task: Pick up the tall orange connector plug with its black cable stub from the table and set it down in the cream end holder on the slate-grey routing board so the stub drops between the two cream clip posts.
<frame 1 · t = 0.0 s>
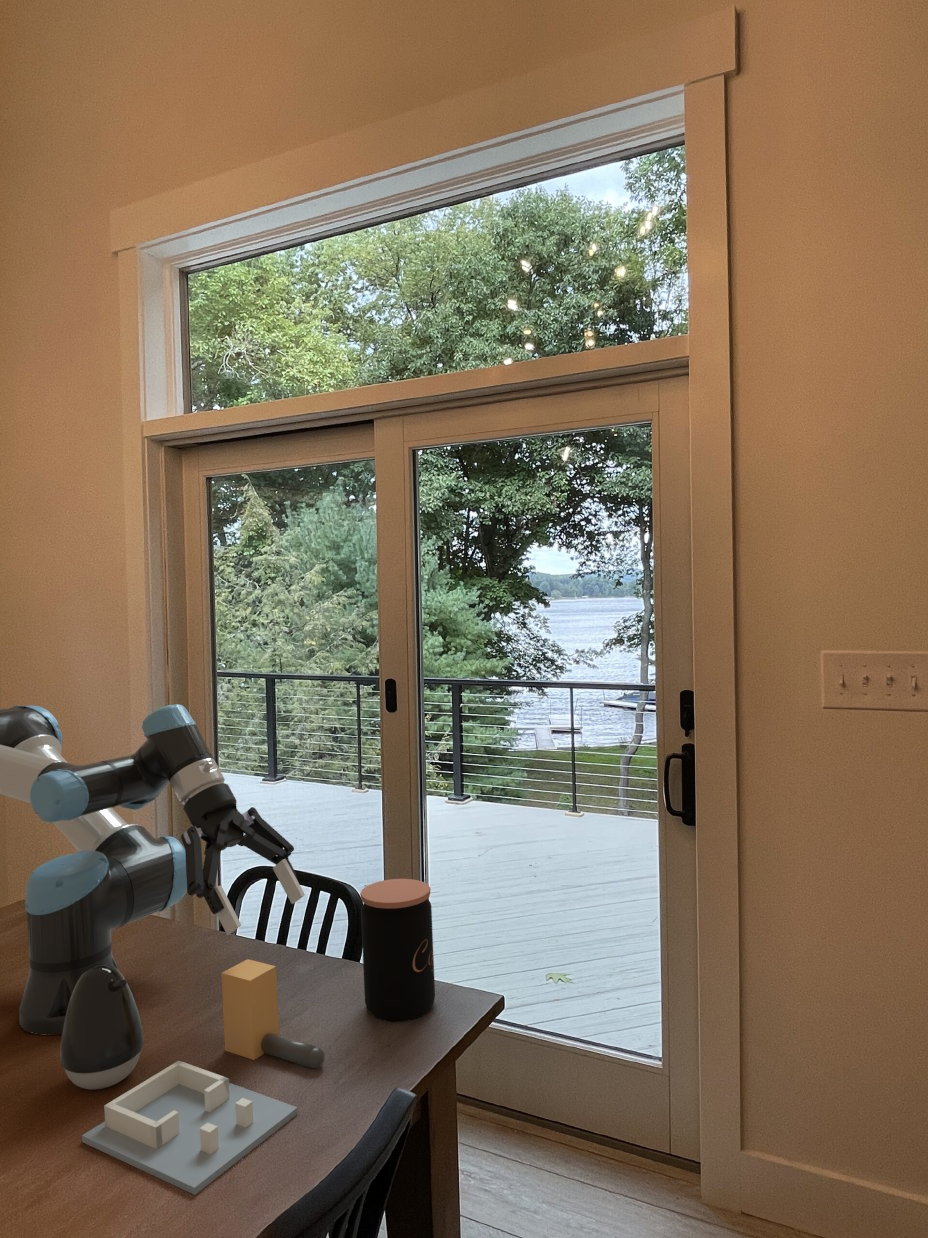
hand: (268, 914, 130), 15 cm above the table, tool tilted 35°, fingers open, 13 cm apart
dark grey egg shape: (104, 1080, 114), on the table
coffee jar: (400, 1008, 131), on the table
plug: (252, 1047, 121), on the table
routing board: (192, 1128, 103), on the table
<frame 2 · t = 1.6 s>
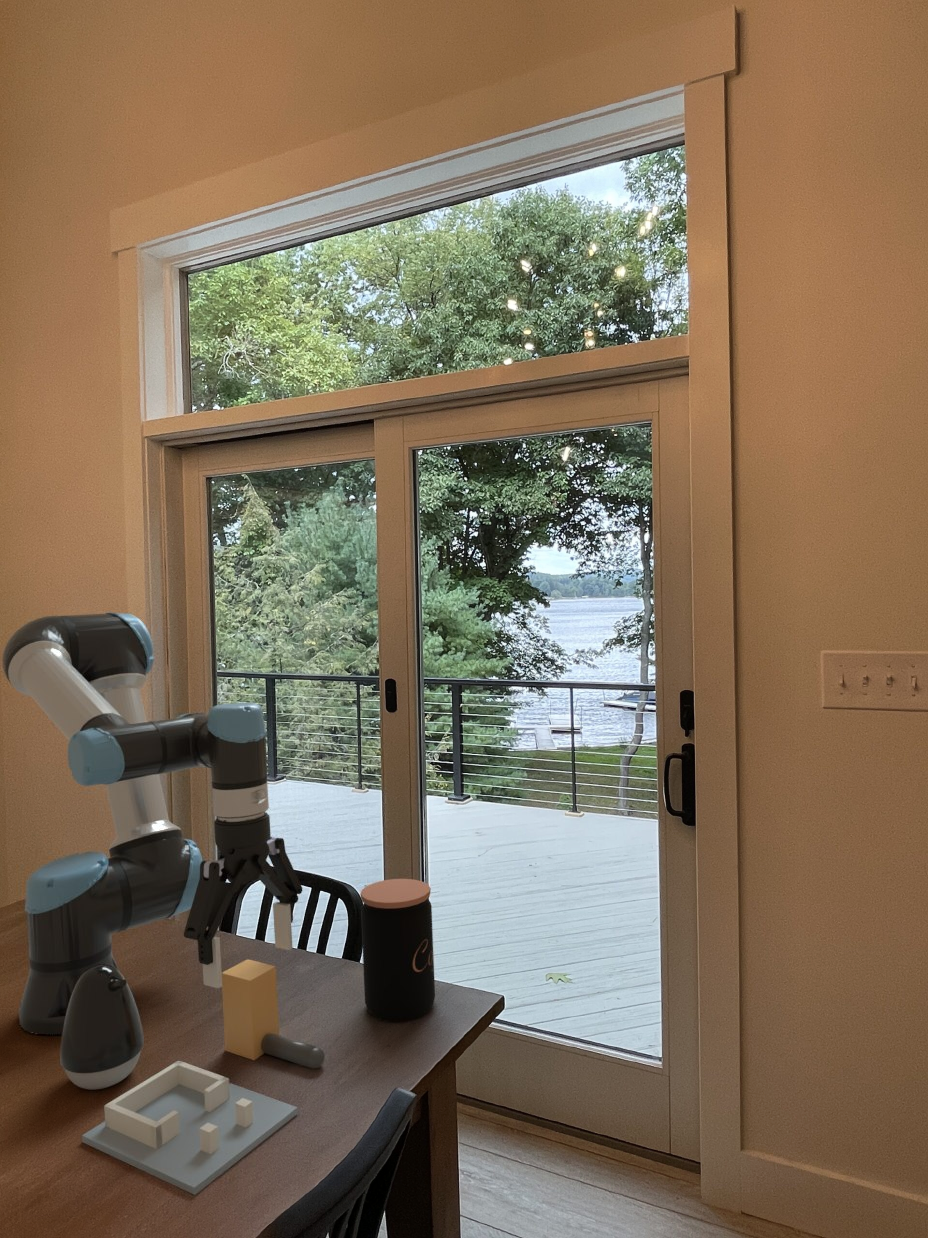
hand: (250, 966, 120), 12 cm above the table, tool pointing down, fingers open, 13 cm apart
nothing on the table moved.
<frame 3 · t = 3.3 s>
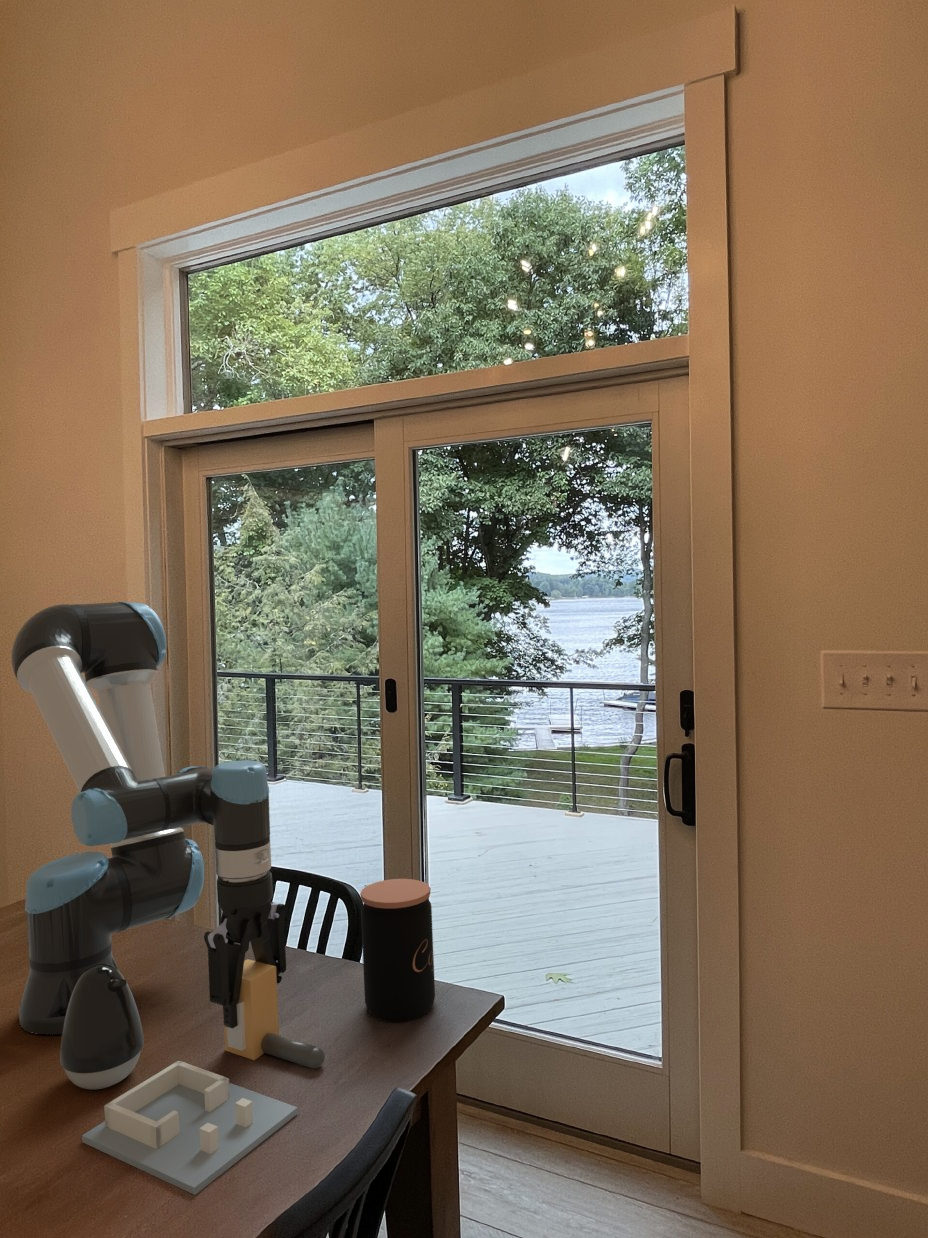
hand: (252, 1037, 121), 1 cm above the table, tool pointing down, fingers closed on plug, 5 cm apart
plug: (252, 1047, 121), on the table, touching gripper
everything else where it was.
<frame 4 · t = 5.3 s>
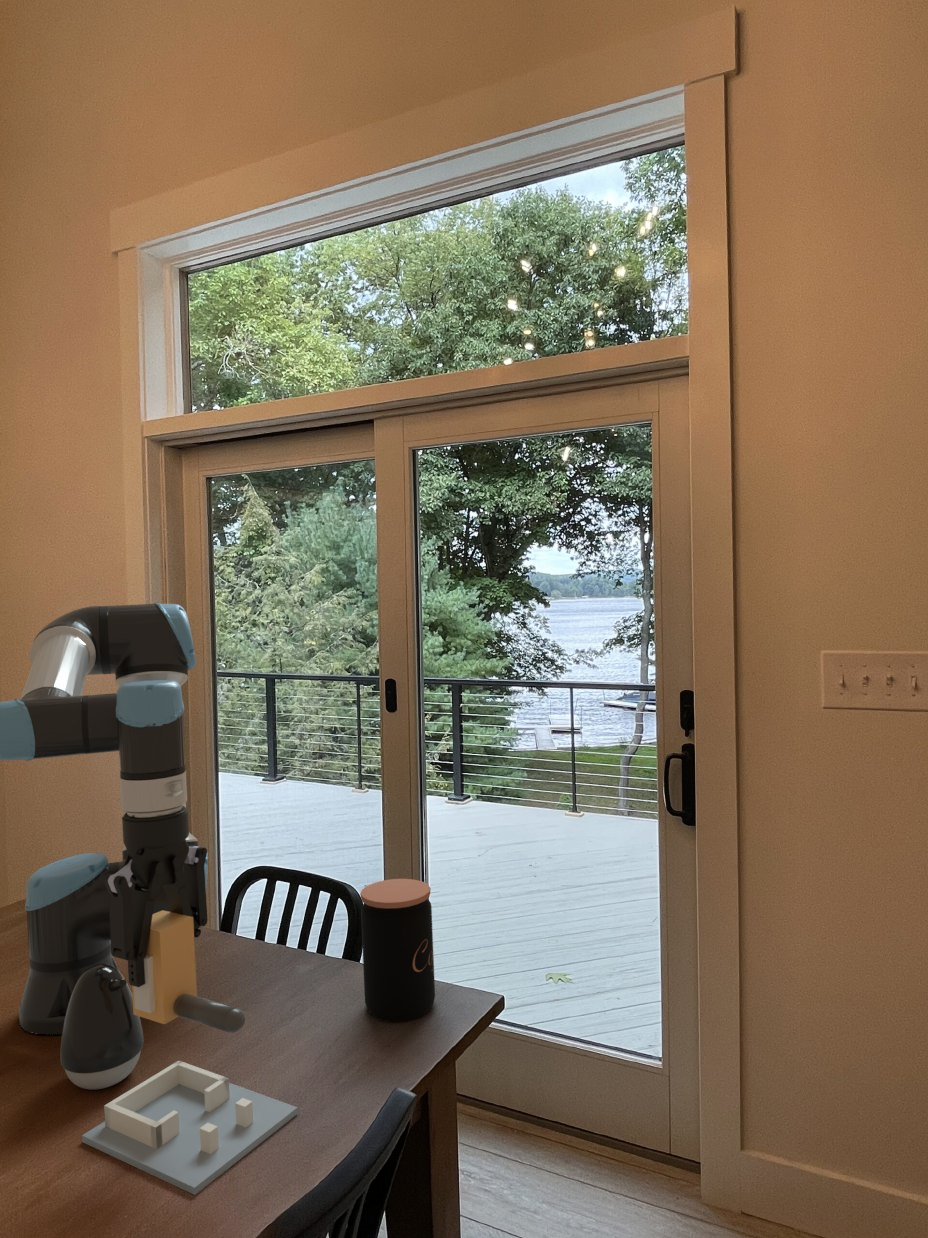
hand: (164, 999, 104), 15 cm above the table, tool pointing down, fingers closed on plug, 5 cm apart
plug: (165, 1010, 104), point 13 cm above the table, touching gripper
everything else where it was.
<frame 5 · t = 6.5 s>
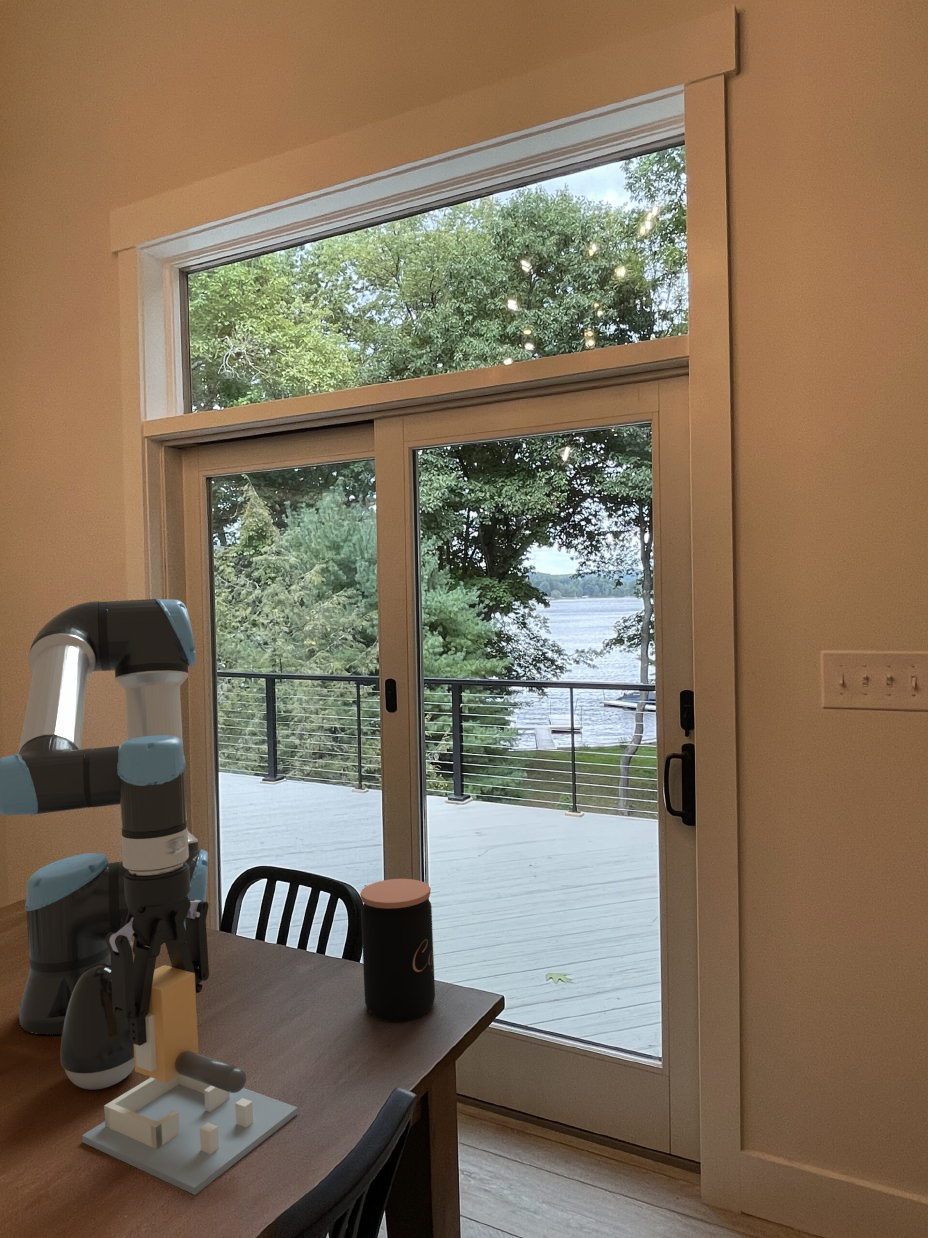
hand: (166, 1055, 104), 8 cm above the table, tool pointing down, fingers closed on plug, 5 cm apart
plug: (167, 1067, 104), point 6 cm above the table, touching gripper
everything else where it was.
when the fingers open (4 cm above the table, at t = 7.6 s): plug drops 1 cm, resting on routing board.
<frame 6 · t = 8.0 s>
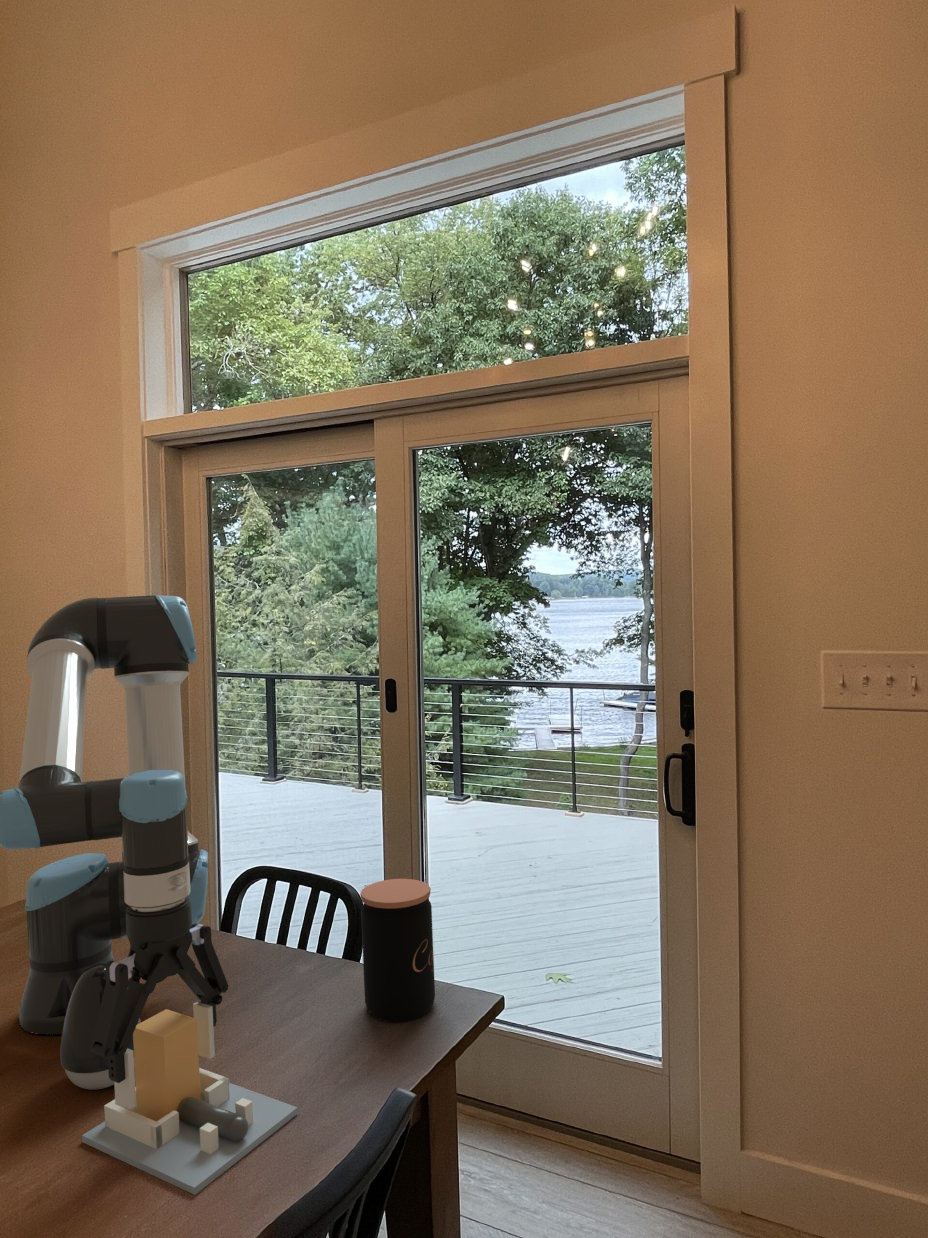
hand: (167, 1079, 105), 5 cm above the table, tool pointing down, fingers open, 11 cm apart
plug: (169, 1112, 105), point 1 cm above the table, touching routing board
everything else where it was.
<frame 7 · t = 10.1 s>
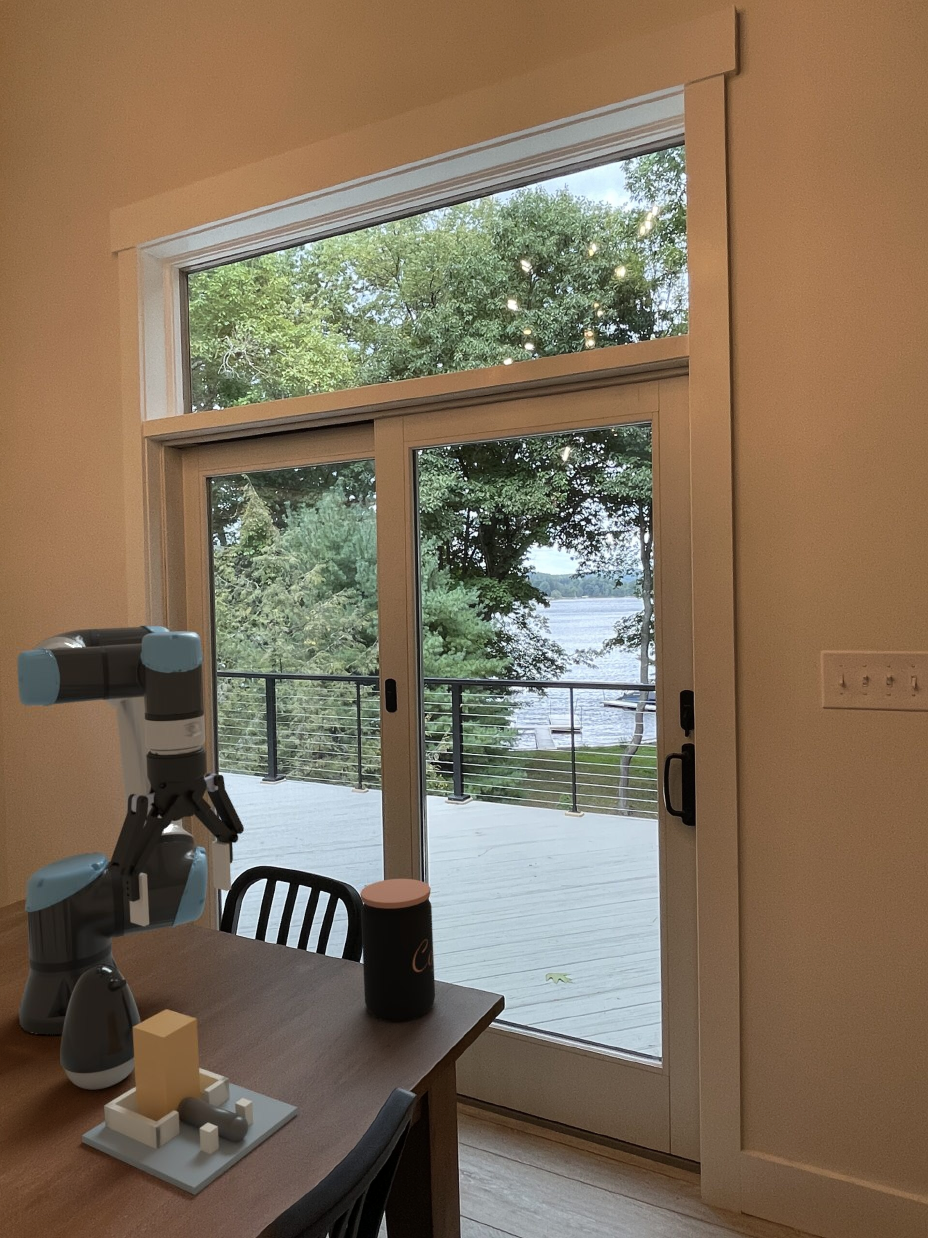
hand: (183, 905, 115), 22 cm above the table, tool pointing down, fingers open, 13 cm apart
nothing on the table moved.
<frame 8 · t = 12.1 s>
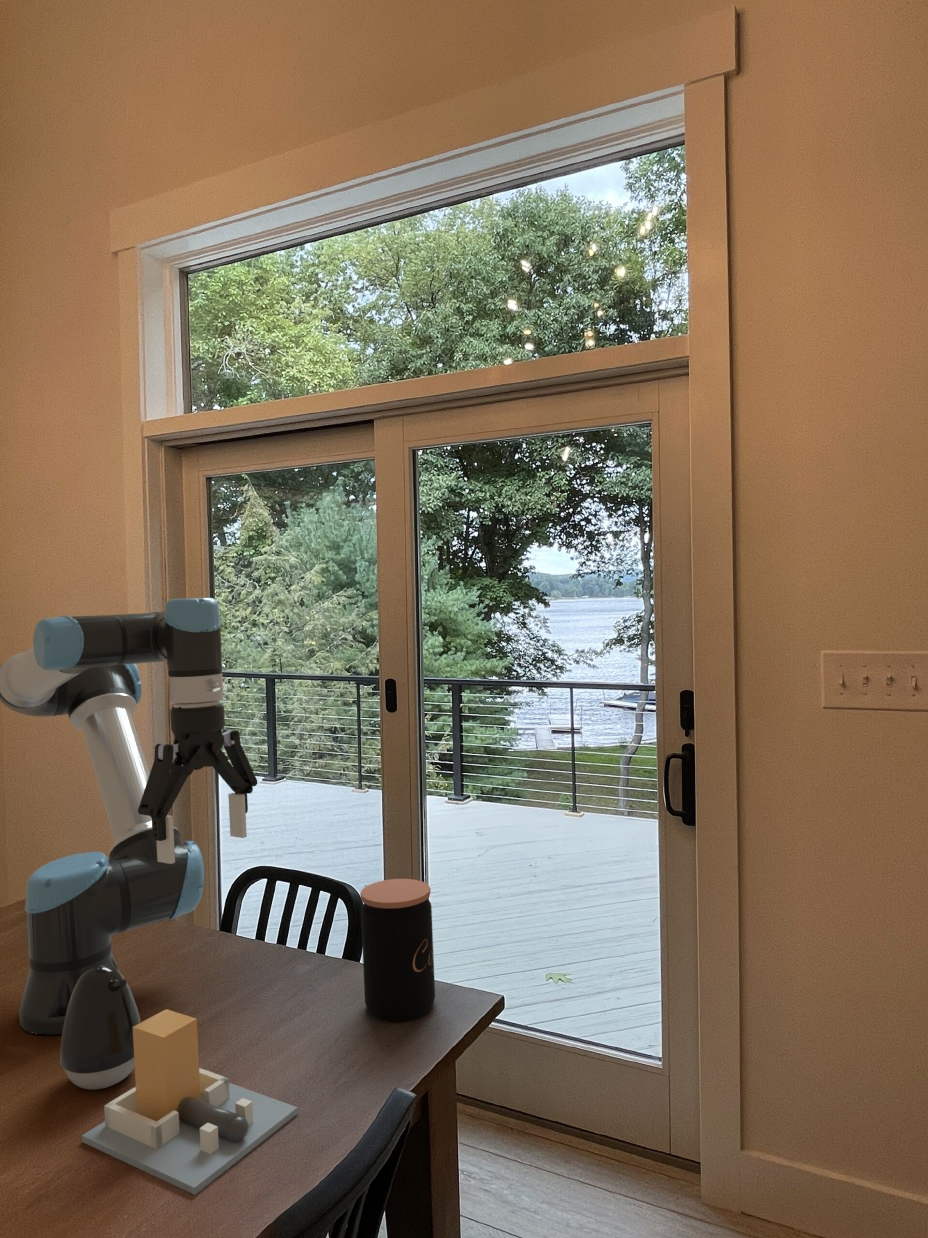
hand: (204, 849, 126), 27 cm above the table, tool pointing down, fingers open, 13 cm apart
nothing on the table moved.
at the end: plug 0.0 cm from the target spot on the routing board, point 0.8 cm above the routing board's base; plug tilted 0°; the gripper is holding nothing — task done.
